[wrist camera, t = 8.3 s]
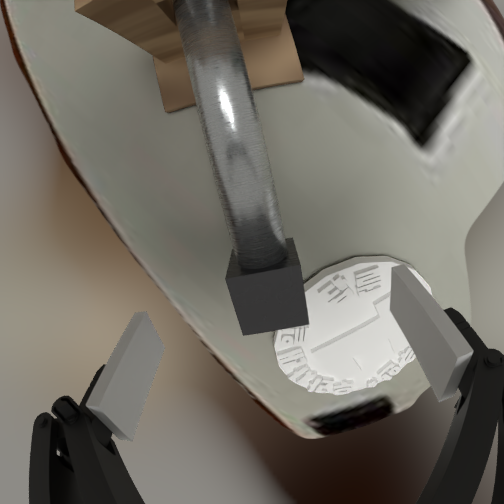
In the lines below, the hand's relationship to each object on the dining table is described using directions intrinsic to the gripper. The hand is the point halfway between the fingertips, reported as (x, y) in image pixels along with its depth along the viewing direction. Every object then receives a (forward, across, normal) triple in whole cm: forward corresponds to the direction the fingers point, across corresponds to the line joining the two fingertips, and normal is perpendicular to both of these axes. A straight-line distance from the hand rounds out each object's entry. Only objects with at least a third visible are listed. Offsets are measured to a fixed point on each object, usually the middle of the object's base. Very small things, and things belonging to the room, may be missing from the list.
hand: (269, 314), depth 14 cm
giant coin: (+14, +8, -15) cm, 22 cm away
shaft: (+6, 0, +8) cm, 10 cm away
